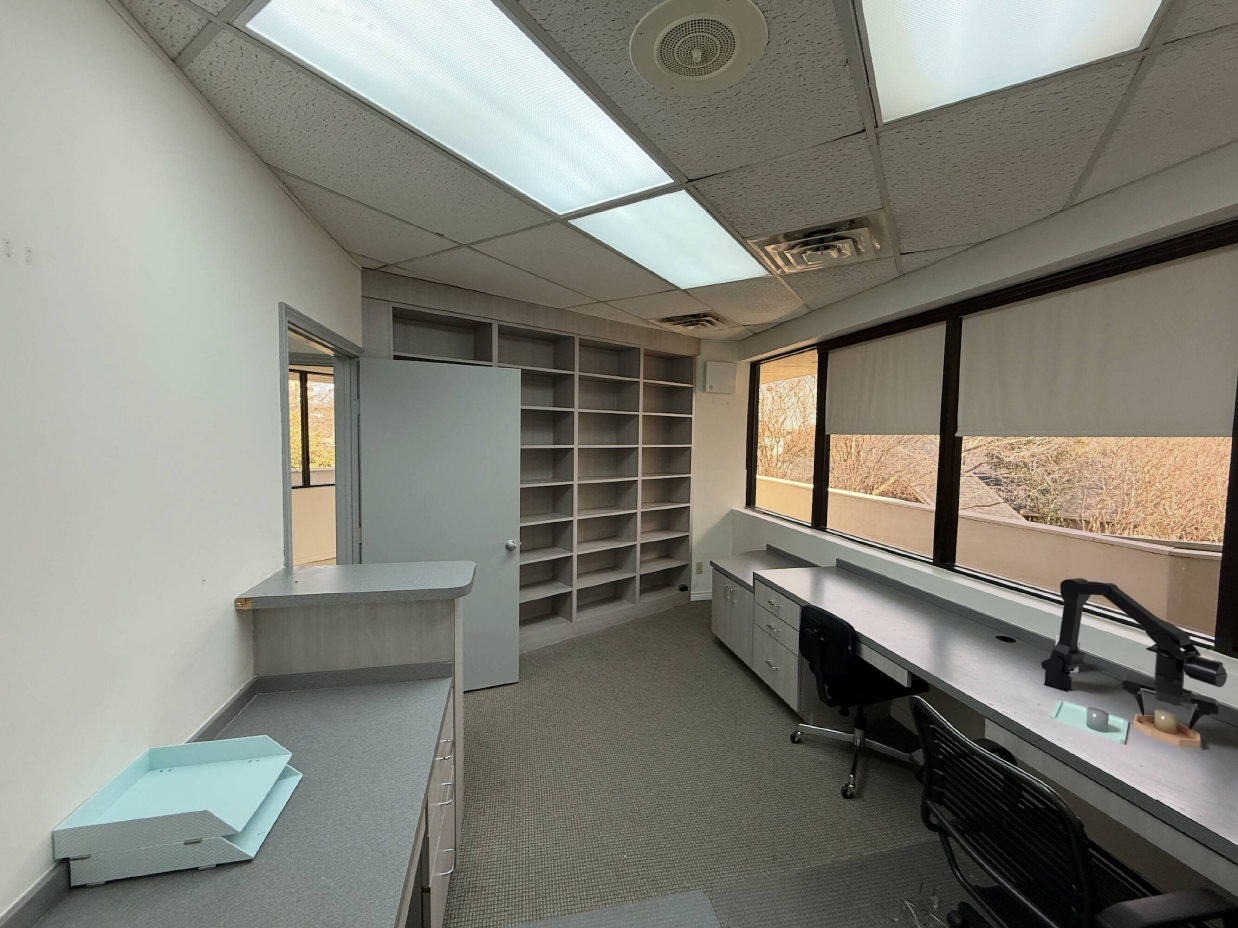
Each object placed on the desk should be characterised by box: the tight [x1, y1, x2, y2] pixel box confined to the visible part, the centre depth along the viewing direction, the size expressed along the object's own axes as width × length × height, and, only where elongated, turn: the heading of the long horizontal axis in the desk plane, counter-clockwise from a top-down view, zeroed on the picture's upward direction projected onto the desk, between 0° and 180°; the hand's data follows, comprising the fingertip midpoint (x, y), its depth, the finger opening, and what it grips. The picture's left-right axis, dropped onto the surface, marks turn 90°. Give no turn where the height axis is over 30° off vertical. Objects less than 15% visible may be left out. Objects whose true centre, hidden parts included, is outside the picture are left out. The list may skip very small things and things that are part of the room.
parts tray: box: [1049, 698, 1130, 745], centre depth 148 cm, size 16×17×1 cm
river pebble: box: [1154, 709, 1179, 735], centre depth 144 cm, size 5×5×5 cm
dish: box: [1132, 713, 1201, 748], centre depth 142 cm, size 13×13×2 cm
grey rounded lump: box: [1086, 707, 1109, 733], centre depth 144 cm, size 5×5×5 cm
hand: (1166, 721), depth 144 cm, fingers open, 9 cm apart
